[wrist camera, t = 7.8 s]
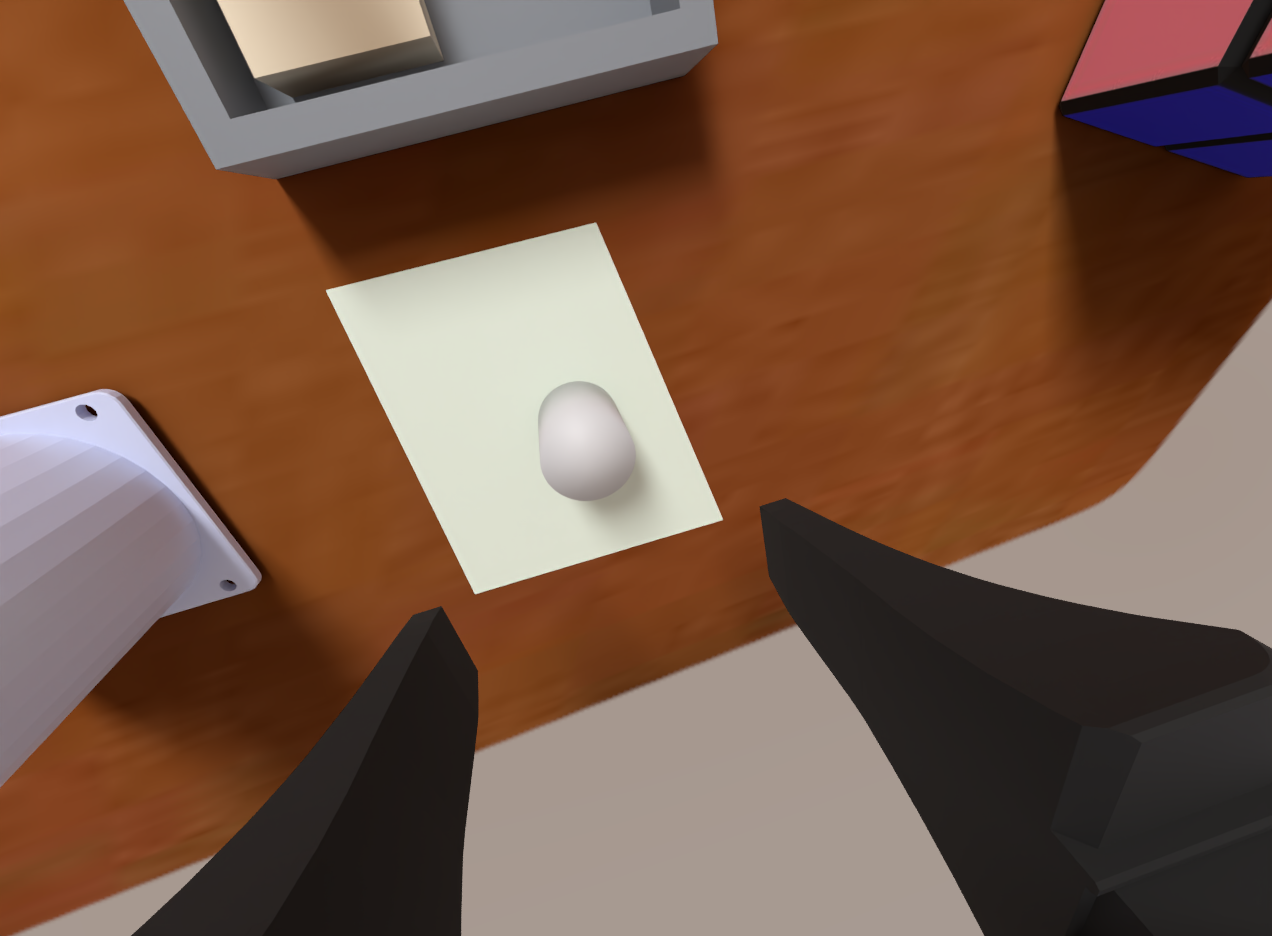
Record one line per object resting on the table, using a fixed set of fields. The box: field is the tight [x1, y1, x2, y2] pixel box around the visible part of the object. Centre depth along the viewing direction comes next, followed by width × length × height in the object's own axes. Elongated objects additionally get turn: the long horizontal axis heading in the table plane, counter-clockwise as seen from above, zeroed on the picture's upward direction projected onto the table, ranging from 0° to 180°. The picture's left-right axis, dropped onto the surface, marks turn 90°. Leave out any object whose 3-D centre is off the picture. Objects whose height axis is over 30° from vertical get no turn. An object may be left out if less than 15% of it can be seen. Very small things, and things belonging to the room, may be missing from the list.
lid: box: [326, 223, 723, 594], centre depth 17 cm, size 13×13×4 cm
